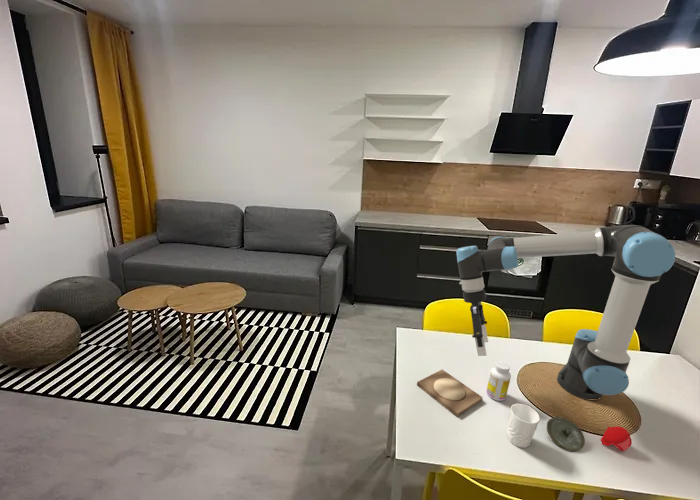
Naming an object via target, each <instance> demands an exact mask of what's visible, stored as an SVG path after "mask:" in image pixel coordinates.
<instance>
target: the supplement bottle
mask: <svg viewBox="0 0 700 500" xmlns="http://www.w3.org/2000/svg"><path fill="white" fill-rule="evenodd" d="M510 367H511V366H510V365H509V364H508V363H507V362H505V361H501V360H499V361H496V362H495V363H494V367H492V368H491V369H490V372H489V373H490V374H489V377H488V380H487V381H488V382H487V386H486V394H487V396H488V397H489V398H490V399H491V400H494V401H499V402H502V401H504V400H506V399H507V394H508V390H509V386H510V383H511V377H512V375H511V372H510V370H511V369H510Z"/></svg>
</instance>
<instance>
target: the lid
mask: <svg viewBox="0 0 700 500" xmlns="http://www.w3.org/2000/svg"><path fill="white" fill-rule="evenodd" d="M546 431H547V434H548V436H549V438H550V440H551V441H552V442H553V443H554V444H555V445H556V446H557V447H559V448H561V449H563V450H564V451H569V452H572V453H574V452H579V451H581V450H582V449H583V448H584V446H585V444H586V438H585V435H584V433H583V431H582V430H581V429H580V427H579V426H578V425H577V424H576V423H574V422H573V421H571V420H569V419H568V418H566V417H562V416H554V417H552V418H549V420H547V422H546Z"/></svg>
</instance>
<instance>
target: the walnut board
mask: <svg viewBox="0 0 700 500" xmlns="http://www.w3.org/2000/svg"><path fill="white" fill-rule="evenodd" d="M416 386H417V387H418V388H419V389H421V390H422V391H423V392H425V394H427V395H428V396H429V397H431V398H432V399H434V401H436V402H437V403H438V404H440V405H441V406H442V407H444V408H445V410H447V411H448V412H450V413H451V414H452V415H454V416H455V417H456V418H458V417H459V416H461V415H462V414H464V413H466V412H468V411H469V410H470V409H472V408H473V407H475V406H477V405H478V404H479V403H481V402H482V401H483V396H481V395H480V394H479V393H477V392H475V391H474V390H473V389H471V388H470V387H469V386H467V385H465V384H464V383H463V382H462V381H460V380H458V379H457V378H456V377H454V376H452V375H451V374H450V373H448V372H447V371H445V370H444V369H440V370H438V371H435V372H434V373H432V374H430V375H427V376H426V377H424V378H422V379H421V380H418V381H417V382H416Z"/></svg>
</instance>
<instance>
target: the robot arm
mask: <svg viewBox="0 0 700 500" xmlns="http://www.w3.org/2000/svg"><path fill="white" fill-rule="evenodd" d="M455 253H456V260H457V261H456V263H457V267H458V274H459V278H460V281H459V285H461V290H462V291H463V292H462V296H463V297H462V298H463V302H465V303H466V304H467V303H468V304H469V303H470V304H471V305H470V307H469V311H470V314H471V315H470V316H471V321H472V330H473V335H471V337H472V338H474V340H475V346H476V352H477V353H476V354H477V356H478V357H486V356H487V349H486V343H489V338H488V333H487V326H486V325H487V324H488V321H487V320H486V318H485V315H484V306H483V304H482V302H484V301H486V300H487V294H486V290H485V289H484V288H485V283H484V282H485V281H484V277H483V273H485V272H493V271H494V272H495V271H496V272H497V271H504V270H506V271H507V270H512V269H517V268H518V267H519V259H522V258H523V259H525V258H538V257H539V258H540V257H541V258H542V257H556V256H557V257H559V256H573V255H575V256H576V255H588V254H590V255H591V254H593V255H594V254H595V255H596V254H597V256H599V257H605V256H607V257H614V260H613V263H612V265H611V266H612V267H611V271H612V273H613V274H614V281H613V283H612V286H611V289H610V292H609V295H608V299H607V301H606V304H605V305H606V306H605V308H604V311H603V315H602V318H601V320H600V324H599V326H598V330H593V329H587V328H582V329H579V330H578V331H576V334H575V336H574V340H573V343H572V346H571V351H570V352H569V353H570V354H569V356H568V359H567V362H566V364H565V365H563V367H562V368H561V369H560V370H559V372H558V375H557V378H556V381H557V383H558V384H559V385H560V387H561V386H562V387H561V388H562V389H564V390H565V391H566V392H567V393H569V392H570V394H572V395H573V394H574V395H573V396H575V395H576V396H575V397H577V396H578V398H580V397H581V398H580V399H583V398H584V400H587V399H599V398H601V397H602V396H615V395H617V394H619V395H620V394H622V393H623V392H625V391H626V390H627V389H628V387H629V386H630V384H629V383H630V379H629V376H628V373H627V370H628V368H629V365H630V361H631V357H630V355H629V354H628V353H627V352H628V348H629V346H630V343H631V340H632V337H633V335H634V332H635V329H636V326H637V323H638V320H639V317H640V316H641V313H642V309H643V306H644V304H645V301H646V298H647V295H648V293H649V290H650V287H651V285H653V284H655V283H658V282H659V281H660V280H661V276H662V275H663V274H664V273H667V272H668V271H669V270H670V269H671V268H672V266H674V263H675V261H676V251H675V247H674V246H673V245H672V244H671V242H669V240H668V239H667V238H665V236H663V235H661V234H659V233H657V232H654V231H652V230H650V229H649V228H647V227H645V226H642V225H637V224H636V225H635V224H622V225H616V226H613V225H611V226H604V227H596V229H594V230H593V231H581V232H570V233H569V232H568V233H557V234H545V235H535V236H532V235H531V236H523V237H511V238H509V237H508V238H505V237H503V236H495V237H493V238H492V239H490V241H489V243H488V245H487V249H485V250H483V249H482V250H480V249H479V248H478V246H477V245H469V246H463V247H459V248H457V249H456V252H455ZM602 398H603V397H602ZM602 398H601V399H602ZM599 400H600V399H599Z"/></svg>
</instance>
